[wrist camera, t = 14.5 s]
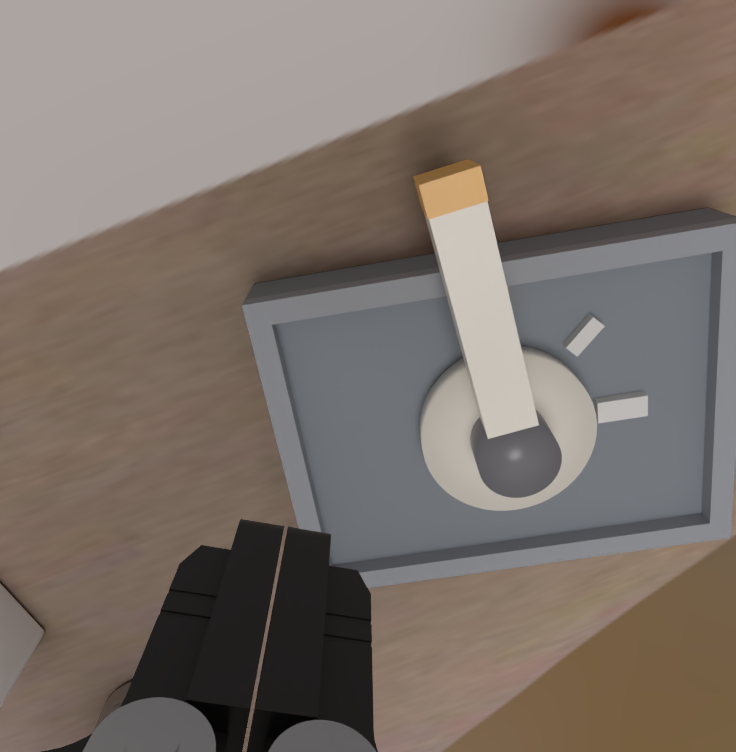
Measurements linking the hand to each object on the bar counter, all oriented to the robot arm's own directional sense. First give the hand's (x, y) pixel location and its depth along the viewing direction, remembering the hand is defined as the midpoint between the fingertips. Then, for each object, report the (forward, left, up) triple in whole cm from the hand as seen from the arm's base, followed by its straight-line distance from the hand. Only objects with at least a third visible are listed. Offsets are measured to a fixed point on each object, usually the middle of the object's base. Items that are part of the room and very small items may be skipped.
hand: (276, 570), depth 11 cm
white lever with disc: (-6, -7, -22) cm, 24 cm away
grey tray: (-10, -7, -26) cm, 28 cm away
